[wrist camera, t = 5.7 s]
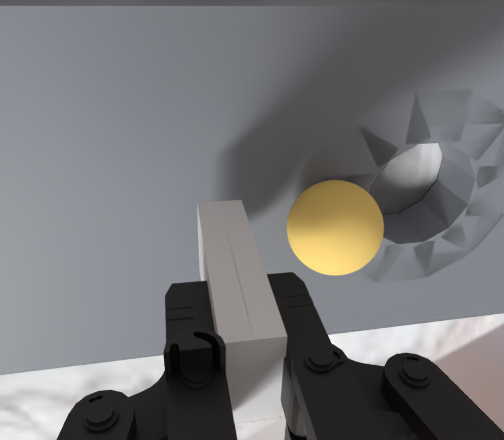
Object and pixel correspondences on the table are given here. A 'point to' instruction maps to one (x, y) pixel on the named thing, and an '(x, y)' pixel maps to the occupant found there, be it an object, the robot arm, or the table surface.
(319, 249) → the ball
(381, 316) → the grey flat block
